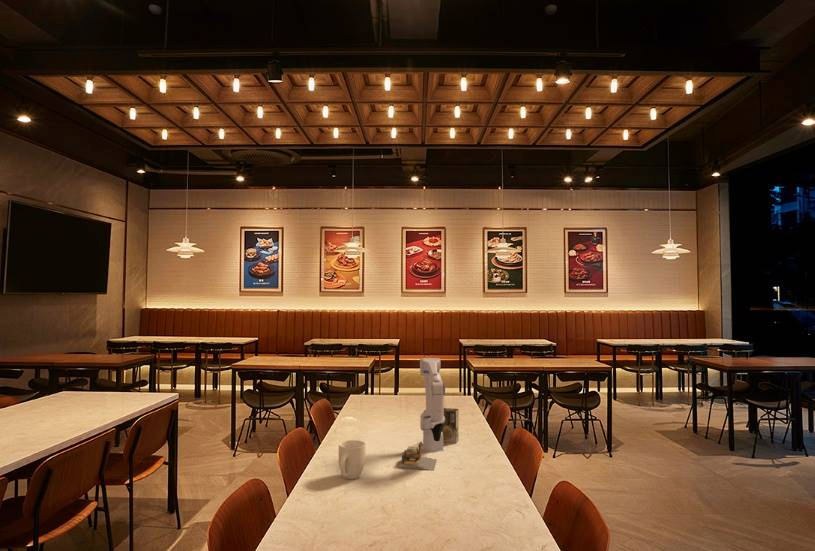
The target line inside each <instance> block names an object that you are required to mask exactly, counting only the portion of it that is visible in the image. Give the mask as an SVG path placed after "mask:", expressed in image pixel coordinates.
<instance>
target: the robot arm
mask: <svg viewBox="0 0 815 551" xmlns="http://www.w3.org/2000/svg"><path fill="white" fill-rule="evenodd" d="M440 370H441V359H440V357H424V358H423V357H421V358H420V360H419V371H420V375H421V376H422V377H423V378H424V387H425V388H424V389H425V390H424V392H425V409H424V410H425V411H424V410H423V412H422V413H421V414H420V422H419V423H420V424H419V425H420V430H421V431H422V434H423V435H422V452H425V453H426V454H427V453H436V452H444V451H445V449H444V442H443V433H442V429H443V427H444V424H443V422H444V421H445V416H444V408H445V407H444V406H445V403H444V402H445V401H444V400H445V398H444V397H445V395H446V385H445V384H446V383H445V382H444V381H442V380H443V379H442V376H441V373H440ZM425 416H431V417H425Z"/></svg>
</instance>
